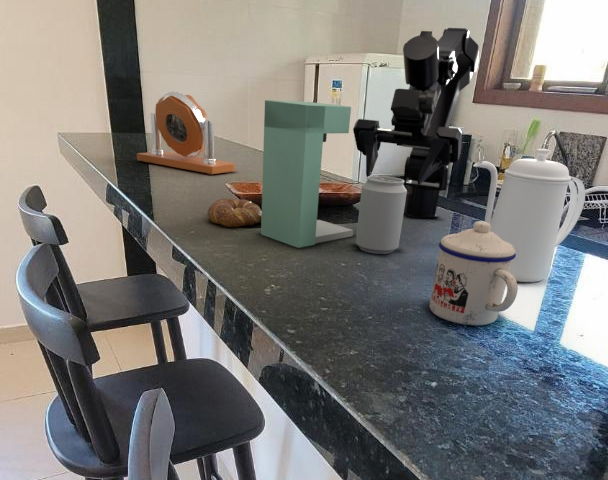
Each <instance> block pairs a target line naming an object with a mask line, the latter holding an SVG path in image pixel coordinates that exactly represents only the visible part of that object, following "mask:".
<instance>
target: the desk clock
mask: <svg viewBox="0 0 608 480" xmlns="http://www.w3.org/2000/svg"><path fill="white" fill-rule="evenodd" d="M149 115H150V116H149V117H150V133H151V148H152V149H150V151H149V152H138V153H136V160H137V161H140V162H143V163H146V164H149V163H151V164H157V165H161V166H166V167H171V168H177V169H183V170H188V171H193V172H197V173H198V172H200V173H204V174H206V175H211V176H213V175H214V174H215V175H216V174H222V173H223V174H224V173H230V172H235V171H236V163H234V162H231V161H226V160H219V159H215V137H214V136H215V133H214V130H215V128H214V127H215V125H214V123H213V122H211V121H210V120H208V117H207V116H208V115H207V113H206V111H205V110H204V108H202V107H201V106H200V104H199V103H198V102H197V101H196V100H195V98H193V96H192V95H190V94H183V93H181V92H178V91H176V92H175V91H169V92H167V93H165V94H163V95H161V97H160V98H158V100H157V101H156V104H155V106H154V113H153V112H150V113H149ZM162 139H163V140H164V142H165V143H166V146H167V147H169V148H170V149H171V150H172V151H164V150H163V149H162ZM202 153H203V156H199V155H201V154H202Z"/></svg>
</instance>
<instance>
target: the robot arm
mask: <svg viewBox="0 0 608 480" xmlns="http://www.w3.org/2000/svg"><path fill="white" fill-rule="evenodd" d="M403 44H404V45H403V47H402V53H403V54H402V55H403V66H404V67H403V68H404V80H405V84H406V85H409V87H408V88H396V89H394V93H393V97H392V101H391V105H390V111H391V112H392V117H391V119H390V123H391V126H392V127H393V129H389V128H381V126H380V121H379V120H375V119H365V118H358V119H357V120H356V121H355V123H354V126H353V128H352V131H353V137H354V141H355V144H356V150H357V151H359V152H361V153H362V155H363V156H365V176H366V178H367V177H368V176H372V173H373V172H374V168H375V165H376V163H377V160H378V158H379V151H380V149H381V148H380V147H381V145H382V143H385V144H394V145H396V146H399V147H405V148H411V152H410V154H409V156H407V157H406V159H405V163H404V170H403V171H404V172H403V180H404V183H403V185H404V187H408V188H407V194H406V200H405V207H404V214H405V215H406V216H408V217H409V218H411V219H412V218H413V219H414V218H415V219H416V218H417V219H439V215H437V208H438V202H439V198H440V192H442V191H447V189H448V183H449V171H450V169H449V167H448V165H450V164H456V163H457V162H459V159H460V157H461V153H462V143H463V141H462V138H463V132H462V130H461V129H460V128H458V127H457V128H455V127H450V125H451V121H452V118H453V115H454V112H455V107H456V105H457V102H458V97H459V95H460V92H461V91H462V90H464V88H466V86H468V85H470V83H471V80H472V78H473V74H474V73H476V72H477V69H478V66H479V60H480V59H479V58H480V50H479V49H480V48H479V44H478V43H477V42H476V41H475V40H474V39H473V38H472V37H471V34H470V29H467V28H466V27H465V28H464V27H448V28H445V29H443V31H442V35H441V37H440V38H439V39H437V38H435V37H434V31H433V30H421V31H420V34H419V35H416V36H414V37H412V38H410V39H409V40H407V42H405V43H403Z"/></svg>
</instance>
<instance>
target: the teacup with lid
mask: <svg viewBox="0 0 608 480" xmlns="http://www.w3.org/2000/svg"><path fill="white" fill-rule="evenodd" d="M490 228H491V225H490V224H489V223H487V222H484V221H482V220H481V221H479V220H478V221H475V222H474V223H473V224H472V228H468V229H464V230H462V231H459V232H458V233H451V234H447V235H445V236H443V237H442V238H441V240H440V241H439V242H438V248H439V253H438V259H437V264H436V269H435V274H434V275H435V276H434V279H433V284H432V290H431V295H430V300H429V309H430V311H431V312H432V313H433V314H434V315H435V316H437V317H438V318H440V319H442V320H444V321H447V322H451V323H454V324H458V325H465V326H486V325H489V324H492V323H494V322H495V321H497V319H498V318H499V314H500V313H501V312H505V311H506V310H508V309H509V308H510V307H511V306H512V305H513V304H514V302H515V301H516V298H517V295H518V291H519V287H518V282H517V281H516V279H515V278H514V276H513V275H512V274H511V273H509V271H510V267H511V264H512V260H513V259H514V258H515V256H516V253H515V252H516V251H515V248H514V247H513V246H512V245H511V244H510V243H508V242H506V241H503V240H502V239H501V238H500V237H499V236H498V235H496V234H495V233H493V232H491V231H490ZM506 288H507V289H506ZM505 290H506V294H505ZM504 294H505V297H504ZM503 298H504V299H503Z"/></svg>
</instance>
